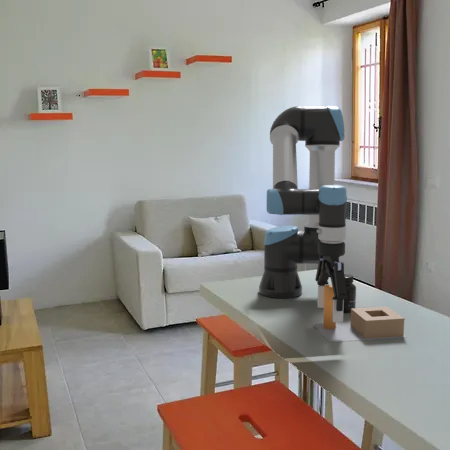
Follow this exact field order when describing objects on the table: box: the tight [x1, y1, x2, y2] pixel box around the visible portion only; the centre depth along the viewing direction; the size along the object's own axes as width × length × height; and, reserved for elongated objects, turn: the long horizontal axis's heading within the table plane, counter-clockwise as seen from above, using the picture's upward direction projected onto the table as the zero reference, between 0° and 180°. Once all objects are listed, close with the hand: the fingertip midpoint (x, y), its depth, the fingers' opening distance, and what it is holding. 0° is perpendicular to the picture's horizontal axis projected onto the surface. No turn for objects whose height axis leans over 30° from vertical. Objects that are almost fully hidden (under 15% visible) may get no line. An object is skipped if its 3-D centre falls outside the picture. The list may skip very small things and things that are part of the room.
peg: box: [322, 284, 337, 329], centre depth 168 cm, size 4×4×12 cm
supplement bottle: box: [340, 273, 357, 314], centre depth 185 cm, size 7×7×12 cm
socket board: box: [312, 306, 407, 343], centre depth 166 cm, size 15×22×6 cm
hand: (329, 314), depth 169 cm, fingers open, 13 cm apart
